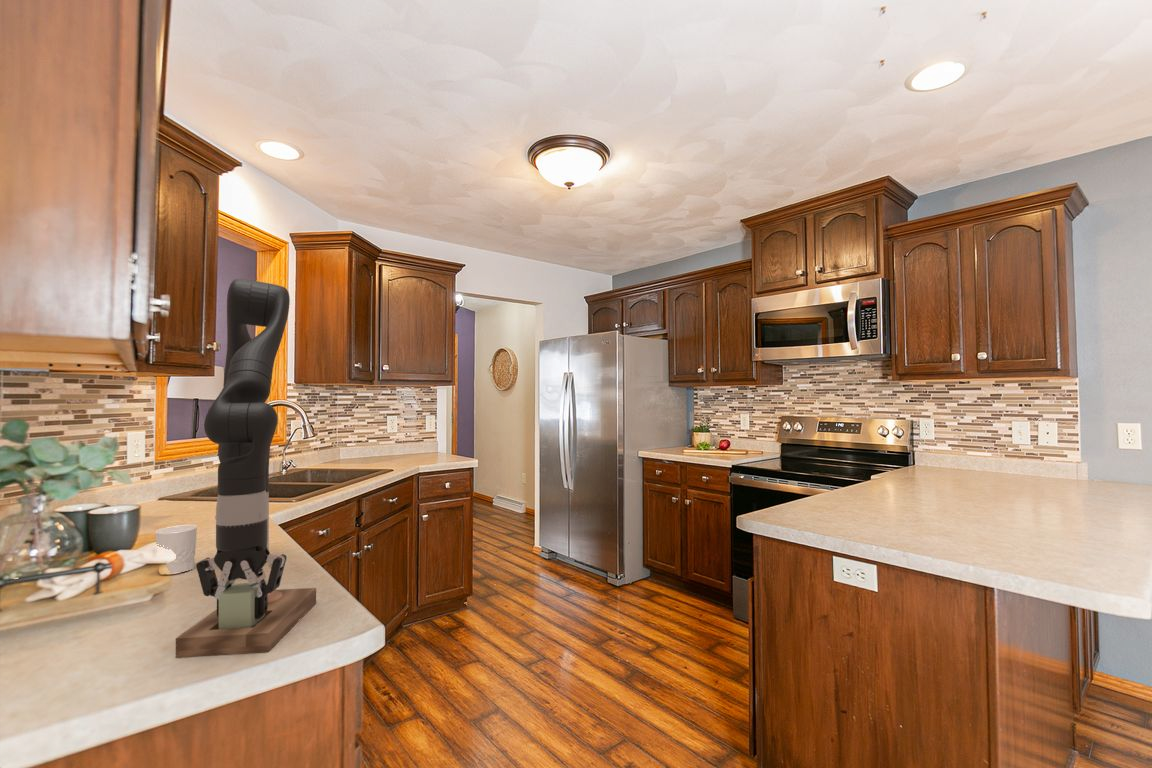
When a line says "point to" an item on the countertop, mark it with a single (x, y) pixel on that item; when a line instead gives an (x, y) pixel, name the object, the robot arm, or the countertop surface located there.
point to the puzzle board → (259, 638)
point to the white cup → (179, 545)
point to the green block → (237, 607)
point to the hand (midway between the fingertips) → (242, 617)
